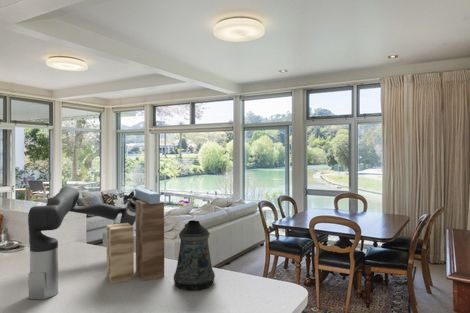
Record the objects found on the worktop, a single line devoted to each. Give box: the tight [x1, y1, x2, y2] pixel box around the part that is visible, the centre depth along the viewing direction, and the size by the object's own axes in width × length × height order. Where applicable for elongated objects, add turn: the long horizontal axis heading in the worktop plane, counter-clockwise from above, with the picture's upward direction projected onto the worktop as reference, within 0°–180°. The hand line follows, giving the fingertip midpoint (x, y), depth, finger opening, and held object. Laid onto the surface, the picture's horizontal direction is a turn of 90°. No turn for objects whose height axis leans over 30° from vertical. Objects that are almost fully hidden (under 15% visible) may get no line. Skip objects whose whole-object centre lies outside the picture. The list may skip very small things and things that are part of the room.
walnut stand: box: [135, 200, 165, 282], centre depth 147 cm, size 12×9×32 cm
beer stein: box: [173, 220, 216, 292], centre depth 137 cm, size 16×19×25 cm
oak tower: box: [105, 223, 135, 284], centre depth 143 cm, size 10×9×22 cm
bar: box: [134, 188, 161, 204], centre depth 150 cm, size 24×4×4 cm, turn 31°
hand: (142, 192), depth 155 cm, fingers open, 8 cm apart
